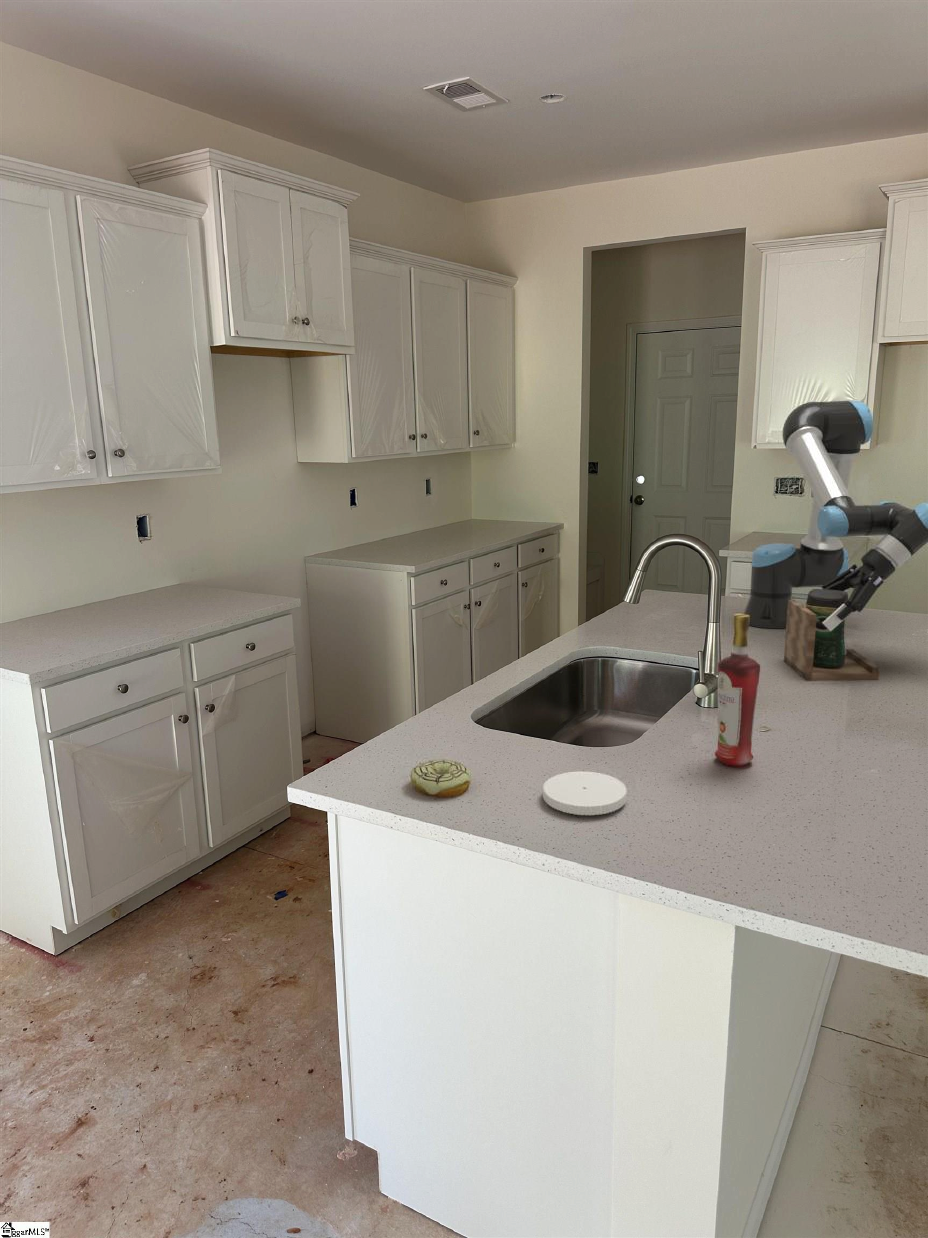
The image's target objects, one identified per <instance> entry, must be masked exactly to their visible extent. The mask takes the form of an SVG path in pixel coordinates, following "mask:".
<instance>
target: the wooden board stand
mask: <svg viewBox="0 0 928 1238" xmlns="http://www.w3.org/2000/svg"><path fill="white" fill-rule="evenodd" d="M816 618H817V615H816V614H815V613H813V612H812V611H810V610H809V609H807V608H806V606H804V605H802V604H801V603H799V602H798V601H796V599H792V600H788V608H787V623H786V628H785V638H784V639H785V640H784V651H783V653H784V654H783V656H784V658H783V661H784V663H785V664H786V665H787V666H789V667H790V668H791V669H792V670H793V671H795V672H796V674H797V675H799V677H801V678H802V679H803V680H804V681H865V680H867V681H870V680H871V681H873V680H875V681H877V680H879V673H880V667H879V666H878V665H876V664H874V663H873V662H872V661H870V659H868V658H866V657H864V656H863V655H862V654H860V653H859V652H857V651H856V650H855V649H853V648H845V662H844V664H843V665H842V666H840V667H820V666H813V657H814V644H815V631H816Z"/></svg>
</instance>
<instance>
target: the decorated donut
mask: <svg viewBox="0 0 928 1238" xmlns="http://www.w3.org/2000/svg"><path fill="white" fill-rule="evenodd" d="M409 776H410V782H411V784H412V785H413V788H414V789H415V790H416V791H417V792H418V793H420V794H421V793H422V794H423V795H426V796H430V795H431V797H434V796H436V798H438V797H442V798H451V796H452V797H458V796H461V795H462V794H463V793H465V792H466V791H467V790H468V789H469V787H470V784H471V782H472V774H471V771H470V769H469V768H468V767H467V766H466V765H465V764H463V763H461V762H458V761H456V760H448V759H445V758H444V759H432V760H428V761H427V760H426V761H425V762H422V763H419V764H417V765H415V766H413V767H412V769H411V770H410V775H409Z"/></svg>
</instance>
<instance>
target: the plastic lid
mask: <svg viewBox="0 0 928 1238" xmlns="http://www.w3.org/2000/svg"><path fill="white" fill-rule="evenodd" d="M627 791H628V789H627V787H626V785H625V783H624V782H623V781H621V780H619V779H618V778H616V777H614V776H611V775H608V774H604V773H601V772H600V773H599V772H594V771H593V772H592V771H585V770H584V771H583V770H582V771H569V772H562V773H559V774H556V775H554V776H551V777H550V778H549V779H548V778H547V780H546V781H545V782H544V783H543V785H542V797H543V800H544V802H545V803H546V804H547V805H549V806H548V807H551V808H552V809H554V810H557V811H559V812H563V813H566V814H570V815H571V814H573V815H577V816H595V815H596V816H599V815H605V814H609V813H612V812H615V811H617V810H619V809H620V808H622V807H624V805H625V804H626V802H627V796H628V795H627V793H628V792H627Z"/></svg>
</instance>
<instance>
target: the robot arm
mask: <svg viewBox="0 0 928 1238" xmlns="http://www.w3.org/2000/svg"><path fill="white" fill-rule="evenodd" d="M873 432H874V420H873V415H872V413H871V410H870V408H869V406H868V405H866V403H864V402H862V401H858V400H857V401H855V400H854V401H853V400H832V401H810V402H809V401H808V402H805V403H802V404H800V405H798V406H797V407H795V408H794V409H793V410H792V411H791V412H790V413H789V415H787V418H786V420H785V421H784V424H783V427H782V434H781V435H782V440H783V444H784V447H785V449H786V450H787V452H788V453H789V454H790V455H792V456H794V458H795V460H796V462H797V464H798V466H799V468H800V470H801V472H802V474H803V476H804V478H805V480H806V482H807V484H808V486H809V488H810V490H811V493H812V494H813V498H812V504H811V510H810V515H809V517H810V518H809V523H808V524H809V525H808V529H807V535H805V536H804V537H803V538H802V539H801V540H800V545H799V547H797V548H796V547H795V545H794V544H793V543H789V542H787V543H786V542H783V543H782V542H781V543H779V542H778V543H769V544H764V545H759V546H758V547H756V548H755V549H754V550H753V553H752V560H751V562H750V563H751V576H750V578H751V579H750V594H749V595H750V596H749V599H748V601H747V604H746V606H745V609H744V611H743V613H742V614H747V615H749V616H750V617H749V626H751V627H755V628H763V629H786V623H787V608H788V600H793V597H792V594H793V589H796V588H797V589H798V588H821V589H828V590H838V591H847V590H850V589H853V590H852V592H851V594H850V596H849V597H848V601H845V602H844V603H845V604H846V605H847V606H846V605H845V604H843V605H841V606H840V607H839V608H838V609H837V610H836V611H835V612H834V613H833V614H831V615H830V616H829V617H828V618H827V619H826V620H825V621H824V622H822V623H823V624H824V625H825V626H826V627H827V628H828V629H829V630H830V631H832V630H833V629H834V628H835V627H836V626H837V625H839V624H840V623H841V622H842V621H843V620H844V619H845V620H846V619H847V617H849V616H850V615H851V614H852V613H855V612H858V613H861V612H862V611H863V610H864V608H865V607H866V605H867V604H868V602H869V601H870V600H871V599H872V597H873V596H874V594H875V593H876V591H877V590H878V589H879V588H880V587H881V585H883V584H884V582H885V580H887V579H888V578H890V577H891V576H892V575H893V574H894V572H896V568H900V567H901V566H902V565H904V564H907V563H908V560H909V559H910V558H911V557H913V555H915V554H916V553H918V551H919V550H921V548H923V547H924V546H925V545H926V544H928V503H927V502H922V503H920V504H919V505H918V506H916V507H914V509H911V508H909V507H906V506H904V505H901V504H900V503H898V502H894V501H893V502H892V501H888V500H885V501H881V502H879V503H877V504H873V505H871V504H868V505H865V504H864V505H863V504H862V505H857V504H855V502H854V501H853V499H852V496H851V495H850V493H849V491H848V487H849V482H850V481H849V480H850V476H851V472H852V471H851V469H852V465H853V464H852V463H853V459H854V458H855V457H856V456H857V455H859V454H860V451H861V446H862V445H863V446H864V445H866V444H867V443H868V442H869V441H870V439H871V438H872V437H873ZM862 536H863V537H872V536H873V537H877V536H883V537H882V538H881V539H880V540H879V541H878V542H876V543H875V544H874V548H870V549H869V550H868V551H867V552H866V553H865V554H863V555H862V557H861V559H860V560H861V563H862V565H861V566H860V567H859V566H857V564H853V565H852V566H850V560H849V553H848V551H847V549H845V547H844V543H843V542H842V541H841V540H840V538H843V537H862ZM849 566H850V567H849Z"/></svg>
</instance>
